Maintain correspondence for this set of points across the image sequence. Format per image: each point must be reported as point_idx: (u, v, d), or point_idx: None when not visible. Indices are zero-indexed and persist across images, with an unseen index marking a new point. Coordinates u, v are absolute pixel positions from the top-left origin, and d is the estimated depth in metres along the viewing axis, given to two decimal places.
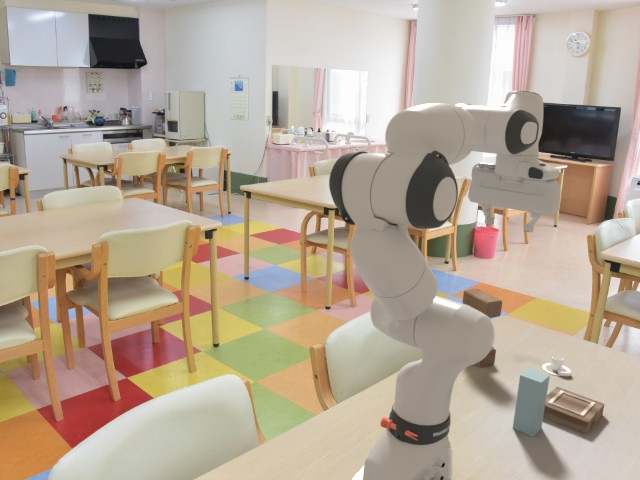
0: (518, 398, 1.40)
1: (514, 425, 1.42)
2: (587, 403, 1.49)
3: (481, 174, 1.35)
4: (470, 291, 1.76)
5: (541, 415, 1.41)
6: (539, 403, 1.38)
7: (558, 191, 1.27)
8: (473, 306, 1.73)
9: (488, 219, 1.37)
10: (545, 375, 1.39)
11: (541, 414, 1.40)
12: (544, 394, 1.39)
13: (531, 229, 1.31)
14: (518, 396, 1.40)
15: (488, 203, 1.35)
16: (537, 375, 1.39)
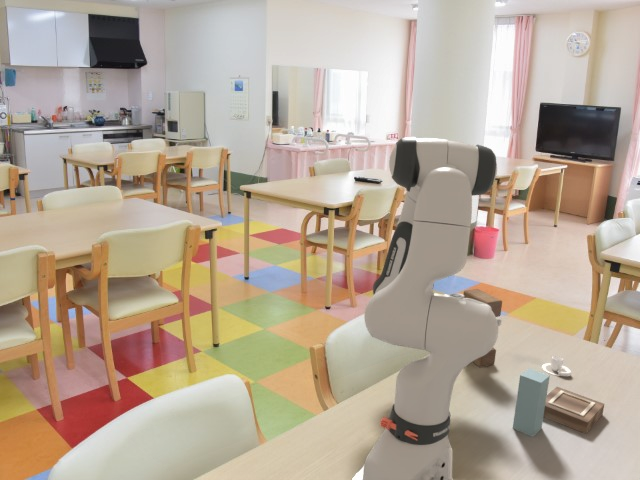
0: (518, 398, 1.40)
1: (514, 425, 1.42)
2: (587, 403, 1.49)
3: None
4: (470, 291, 1.76)
5: (541, 415, 1.41)
6: (539, 403, 1.38)
7: None
8: None
9: None
10: (545, 375, 1.39)
11: (541, 414, 1.40)
12: (544, 394, 1.39)
13: None
14: (518, 396, 1.40)
15: None
16: (537, 375, 1.39)
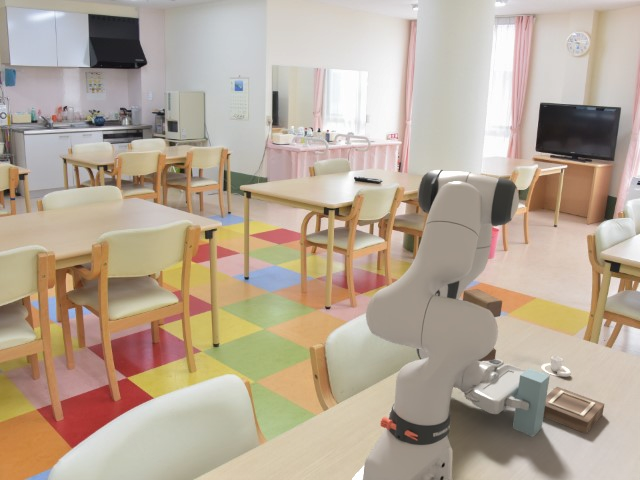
0: (518, 398, 1.40)
1: (514, 425, 1.42)
2: (587, 403, 1.49)
3: (477, 387, 1.42)
4: (470, 291, 1.76)
5: (541, 415, 1.41)
6: (539, 403, 1.38)
7: None
8: None
9: (524, 400, 1.39)
10: (545, 375, 1.39)
11: (541, 414, 1.40)
12: (544, 394, 1.39)
13: None
14: (518, 396, 1.40)
15: (506, 393, 1.40)
16: (537, 375, 1.39)
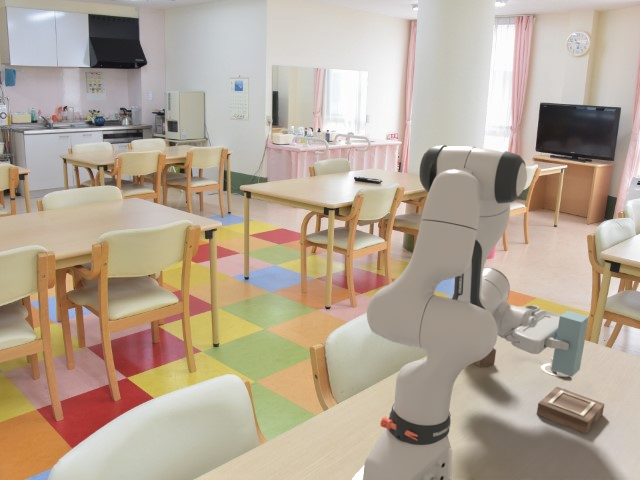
0: (557, 339, 1.42)
1: (553, 366, 1.44)
2: (587, 403, 1.49)
3: (516, 329, 1.44)
4: None
5: (580, 355, 1.43)
6: (579, 343, 1.40)
7: None
8: None
9: (564, 341, 1.41)
10: (584, 316, 1.41)
11: (579, 354, 1.42)
12: (583, 335, 1.41)
13: None
14: (557, 337, 1.42)
15: (546, 334, 1.42)
16: (576, 316, 1.41)
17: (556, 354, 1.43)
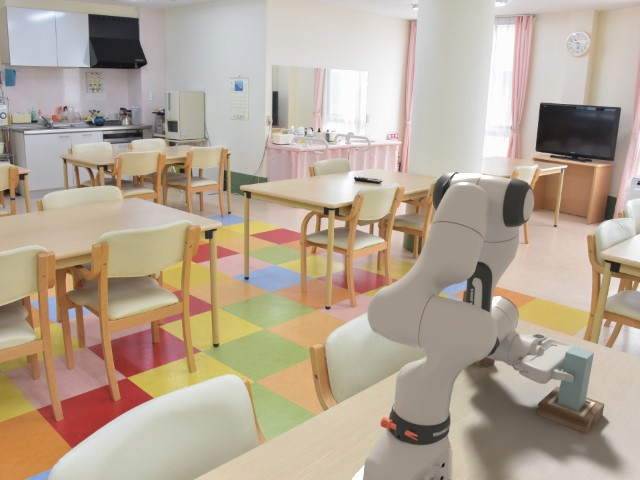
0: None
1: (559, 400, 1.48)
2: (587, 403, 1.49)
3: (524, 359, 1.48)
4: None
5: (585, 390, 1.47)
6: (584, 379, 1.44)
7: None
8: None
9: (569, 373, 1.43)
10: (589, 352, 1.45)
11: (585, 389, 1.46)
12: (588, 370, 1.45)
13: None
14: None
15: (554, 364, 1.45)
16: (581, 352, 1.45)
17: (562, 389, 1.47)
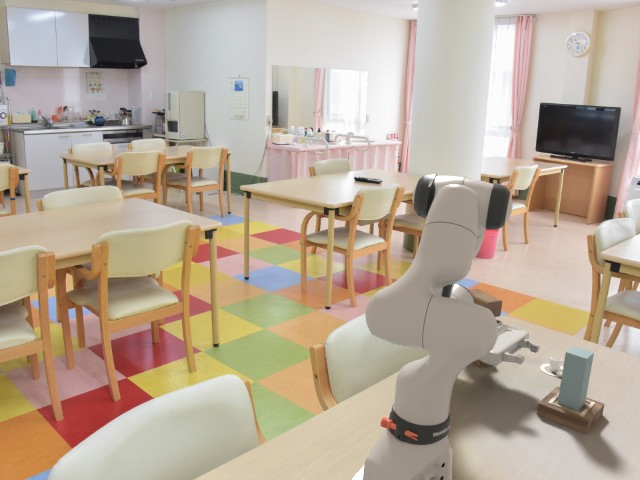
0: (563, 374, 1.46)
1: (559, 400, 1.48)
2: (587, 403, 1.49)
3: None
4: (470, 291, 1.76)
5: (585, 390, 1.47)
6: (584, 379, 1.44)
7: None
8: None
9: (518, 355, 1.51)
10: (589, 352, 1.45)
11: (585, 389, 1.46)
12: (588, 370, 1.45)
13: None
14: (563, 372, 1.46)
15: (505, 347, 1.53)
16: (582, 352, 1.45)
17: (562, 389, 1.47)
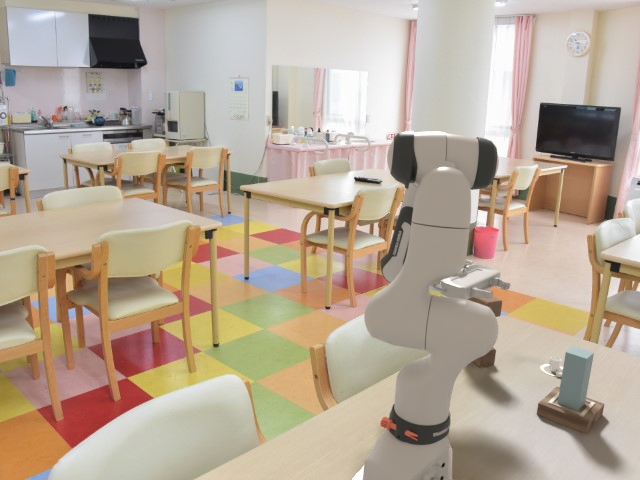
0: (563, 374, 1.46)
1: (559, 400, 1.48)
2: (587, 403, 1.49)
3: (445, 279, 1.49)
4: None
5: (585, 390, 1.47)
6: (584, 379, 1.44)
7: None
8: None
9: (487, 290, 1.44)
10: (589, 352, 1.45)
11: (585, 389, 1.46)
12: (588, 370, 1.45)
13: None
14: (563, 372, 1.46)
15: (473, 283, 1.46)
16: (582, 352, 1.45)
17: (562, 389, 1.47)
